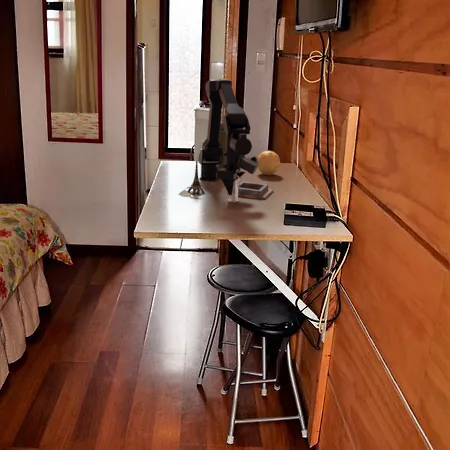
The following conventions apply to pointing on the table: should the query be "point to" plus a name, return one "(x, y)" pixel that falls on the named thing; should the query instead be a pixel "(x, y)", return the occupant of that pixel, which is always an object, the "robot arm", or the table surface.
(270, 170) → the stress ball
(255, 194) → the frame
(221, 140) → the canister
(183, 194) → the eiffel tower figurine
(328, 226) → the table surface
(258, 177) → the table surface
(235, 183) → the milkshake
